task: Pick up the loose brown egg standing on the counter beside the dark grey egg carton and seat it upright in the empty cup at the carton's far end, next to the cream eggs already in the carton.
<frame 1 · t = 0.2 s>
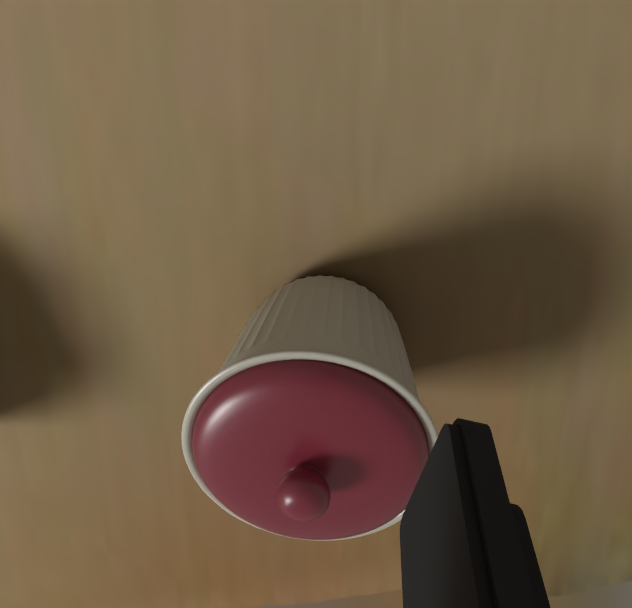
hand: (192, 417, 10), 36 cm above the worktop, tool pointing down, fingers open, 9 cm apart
canister: (326, 327, 53), on the worktop
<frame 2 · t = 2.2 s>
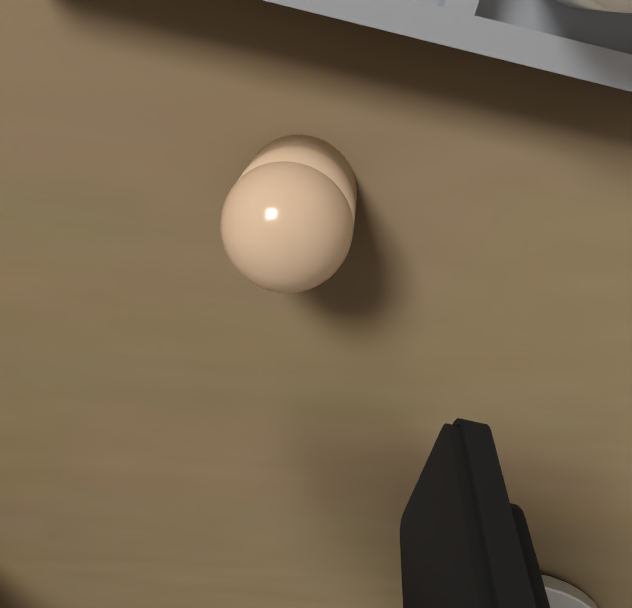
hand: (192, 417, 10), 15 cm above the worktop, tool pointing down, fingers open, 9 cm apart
brown egg: (300, 192, 24), on the worktop
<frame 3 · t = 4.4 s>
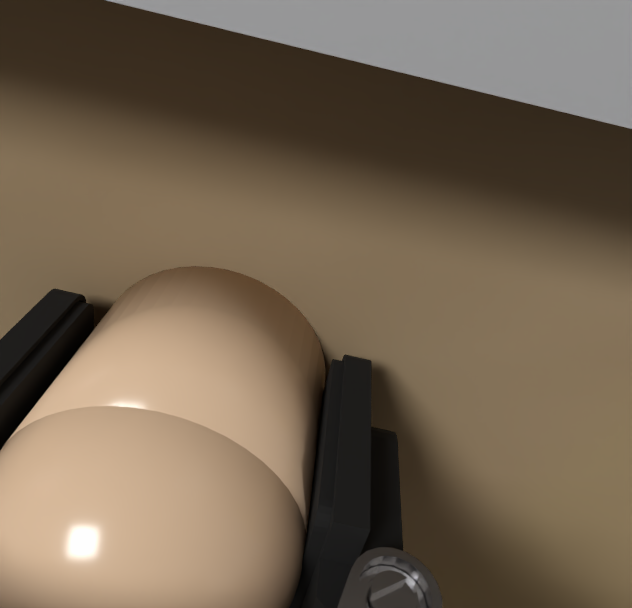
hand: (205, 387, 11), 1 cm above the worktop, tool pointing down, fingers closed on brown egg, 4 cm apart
brown egg: (213, 367, 12), on the worktop, touching gripper
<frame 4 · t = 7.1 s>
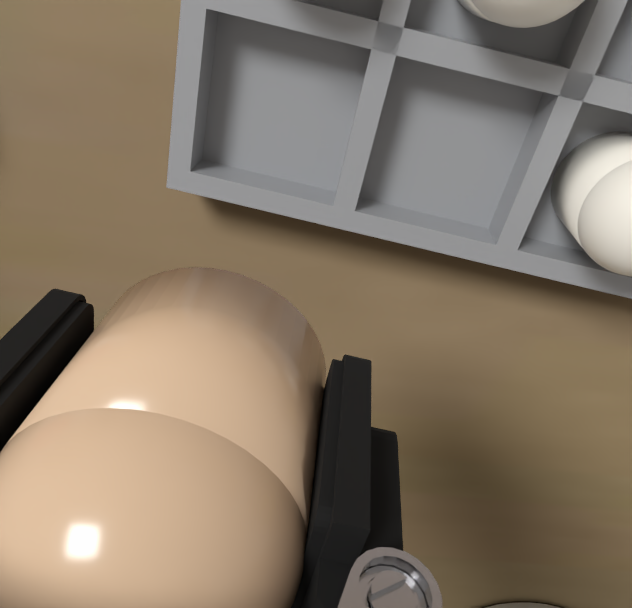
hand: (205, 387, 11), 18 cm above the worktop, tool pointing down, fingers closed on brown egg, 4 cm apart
brown egg: (213, 368, 12), point 18 cm above the worktop, touching gripper
egg carton: (471, 54, 24), on the worktop
when the fingers open (3 cm above the worktop, at t = 9.8 s): brown egg drops 2 cm, resting on egg carton.
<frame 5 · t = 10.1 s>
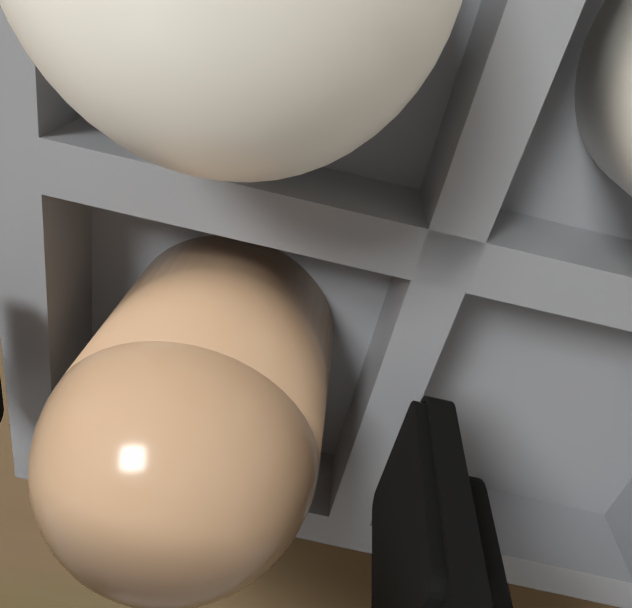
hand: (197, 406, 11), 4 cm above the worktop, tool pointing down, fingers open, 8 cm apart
brown egg: (232, 328, 13), point 1 cm above the worktop, touching egg carton
egg carton: (598, 240, 12), on the worktop
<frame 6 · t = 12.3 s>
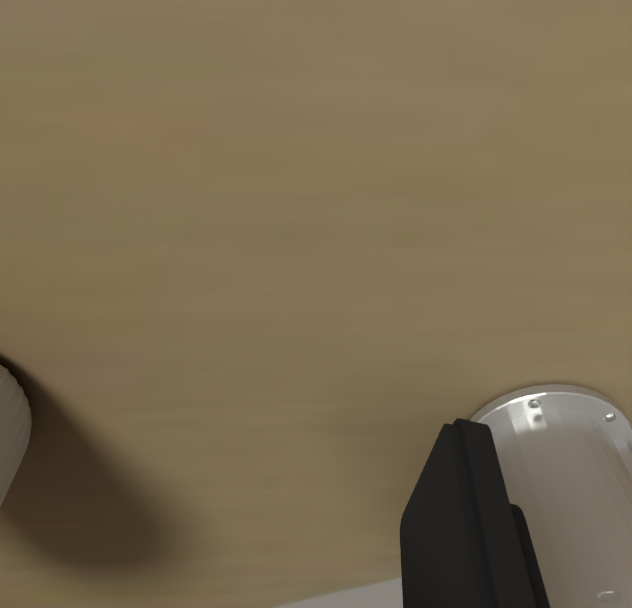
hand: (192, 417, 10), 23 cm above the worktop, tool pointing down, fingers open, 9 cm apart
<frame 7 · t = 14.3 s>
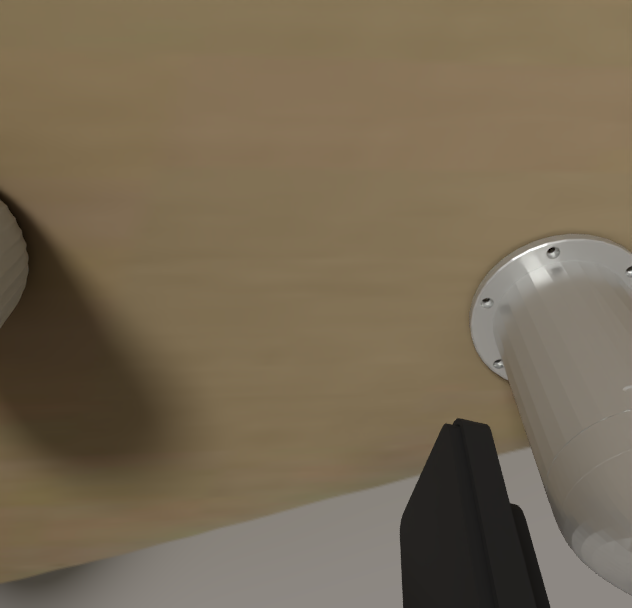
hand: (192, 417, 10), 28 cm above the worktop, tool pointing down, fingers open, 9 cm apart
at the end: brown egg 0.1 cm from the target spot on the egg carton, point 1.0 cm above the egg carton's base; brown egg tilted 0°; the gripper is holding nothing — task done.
